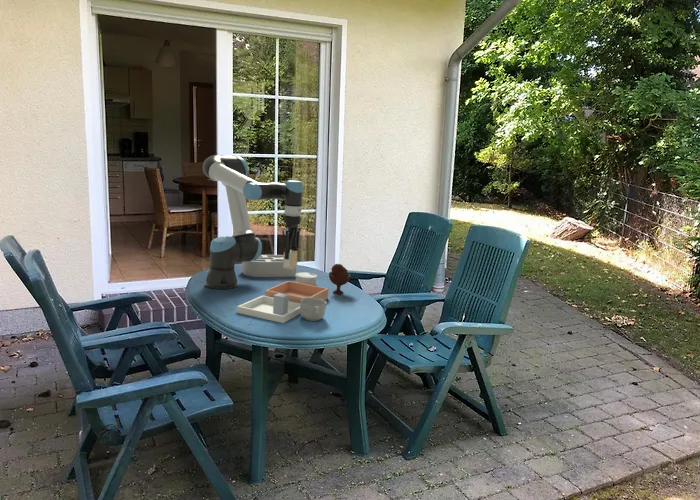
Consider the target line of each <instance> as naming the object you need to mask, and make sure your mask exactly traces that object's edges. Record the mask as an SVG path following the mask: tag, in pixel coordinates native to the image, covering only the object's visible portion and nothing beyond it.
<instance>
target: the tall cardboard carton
mask: <svg viewBox="0 0 700 500" xmlns="http://www.w3.org/2000/svg"><path fill="white" fill-rule="evenodd" d="M290 252H291V261H290V267H289V266H284V260H285V252H283V255H284V258H283V268H287V269H295V268H296V269H297V266H296V265H298V260H297V259H298V251H294V250H291V249H290Z"/></svg>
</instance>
